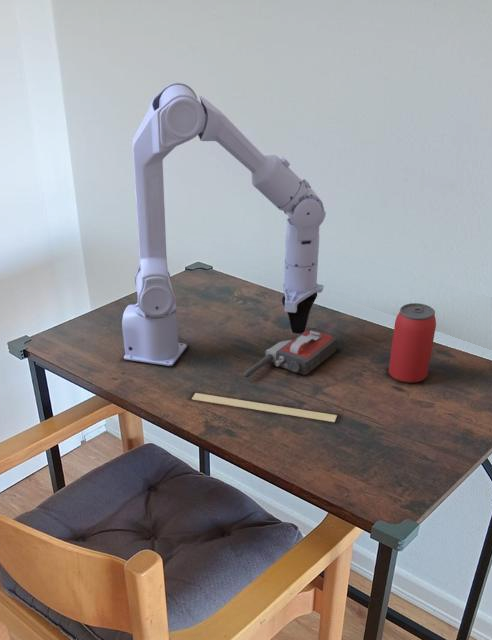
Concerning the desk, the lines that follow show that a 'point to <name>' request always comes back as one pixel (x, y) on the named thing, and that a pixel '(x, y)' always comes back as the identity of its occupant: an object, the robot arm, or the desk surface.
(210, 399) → the tape line
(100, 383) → the desk surface
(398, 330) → the beer can
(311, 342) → the walkie-talkie
